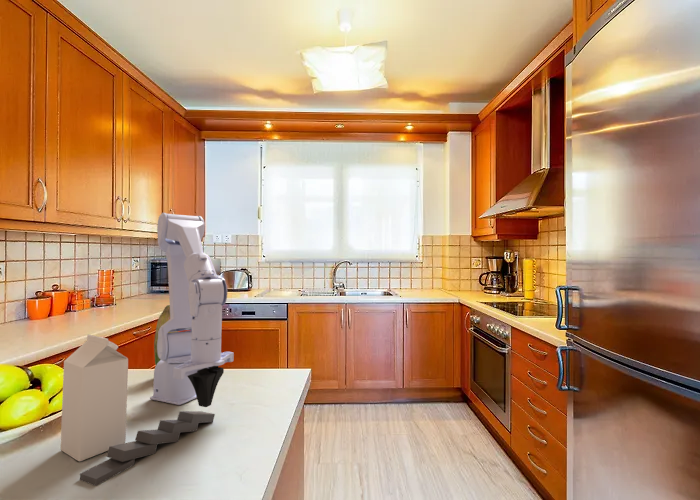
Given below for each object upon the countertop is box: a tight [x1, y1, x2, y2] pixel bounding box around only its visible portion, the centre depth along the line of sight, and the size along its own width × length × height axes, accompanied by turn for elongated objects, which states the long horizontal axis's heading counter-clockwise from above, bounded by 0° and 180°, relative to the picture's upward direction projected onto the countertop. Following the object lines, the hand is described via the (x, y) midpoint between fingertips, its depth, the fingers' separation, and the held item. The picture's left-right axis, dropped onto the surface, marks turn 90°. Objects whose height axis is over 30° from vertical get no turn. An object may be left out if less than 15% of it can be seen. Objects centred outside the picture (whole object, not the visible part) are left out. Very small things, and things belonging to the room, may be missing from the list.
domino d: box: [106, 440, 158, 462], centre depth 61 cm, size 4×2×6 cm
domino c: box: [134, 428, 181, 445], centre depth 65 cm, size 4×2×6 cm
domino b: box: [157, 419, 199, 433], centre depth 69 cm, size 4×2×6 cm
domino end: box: [79, 458, 135, 487], centre depth 57 cm, size 4×2×6 cm
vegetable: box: [153, 304, 179, 366], centre depth 104 cm, size 6×6×20 cm
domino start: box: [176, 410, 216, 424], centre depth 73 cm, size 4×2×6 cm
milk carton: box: [60, 334, 129, 462], centre depth 64 cm, size 7×7×19 cm
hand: (204, 405), depth 75 cm, fingers closed
